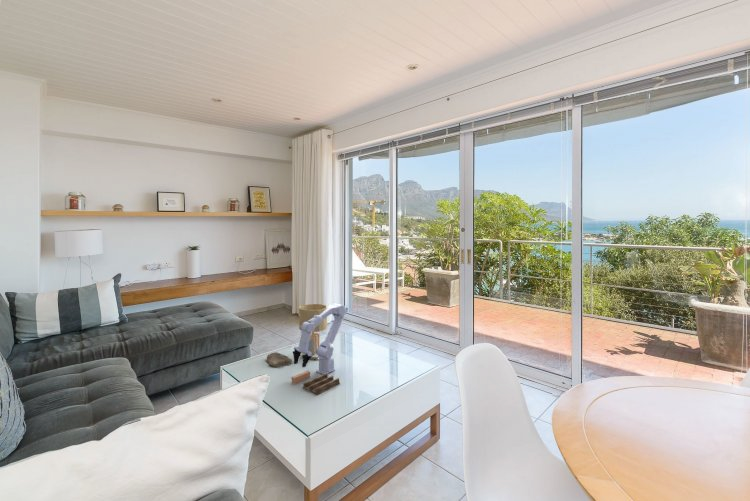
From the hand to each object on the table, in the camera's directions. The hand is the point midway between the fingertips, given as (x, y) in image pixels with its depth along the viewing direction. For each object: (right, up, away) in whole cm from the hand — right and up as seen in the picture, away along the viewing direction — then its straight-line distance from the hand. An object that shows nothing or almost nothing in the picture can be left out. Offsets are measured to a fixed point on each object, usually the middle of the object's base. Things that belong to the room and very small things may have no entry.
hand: (299, 365), depth 209 cm
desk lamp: (+1, -7, +41) cm, 42 cm away
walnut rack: (+14, -10, -6) cm, 18 cm away
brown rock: (-22, -8, +30) cm, 38 cm away
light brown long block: (0, -10, +2) cm, 10 cm away
